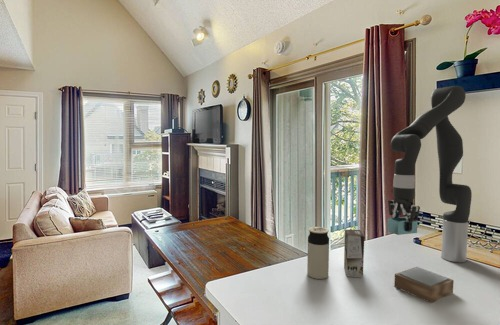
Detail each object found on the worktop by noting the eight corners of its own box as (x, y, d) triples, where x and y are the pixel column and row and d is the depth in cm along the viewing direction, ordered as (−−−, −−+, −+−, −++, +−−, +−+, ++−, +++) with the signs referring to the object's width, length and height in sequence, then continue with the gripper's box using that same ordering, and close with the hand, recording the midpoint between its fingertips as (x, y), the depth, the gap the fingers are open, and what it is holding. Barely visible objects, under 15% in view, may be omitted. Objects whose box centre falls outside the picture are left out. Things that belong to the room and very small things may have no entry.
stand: (416, 278, 116) (416, 265, 115) (452, 292, 104) (453, 278, 104) (394, 286, 109) (394, 272, 109) (431, 302, 98) (431, 287, 98)
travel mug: (332, 274, 118) (333, 229, 117) (321, 281, 113) (322, 233, 111) (314, 269, 124) (315, 225, 123) (303, 275, 118) (304, 229, 117)
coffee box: (363, 278, 116) (364, 236, 115) (346, 276, 117) (347, 235, 116) (360, 268, 125) (361, 229, 124) (343, 267, 126) (344, 228, 125)
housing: (405, 229, 123) (406, 216, 123) (417, 232, 118) (417, 220, 118) (387, 230, 121) (387, 218, 120) (397, 234, 115) (398, 221, 115)
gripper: (427, 188, 112) (425, 233, 113) (397, 183, 126) (396, 223, 127) (410, 189, 110) (408, 235, 111) (382, 184, 124) (381, 225, 125)
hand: (402, 229), depth 119 cm, fingers closed on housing, 5 cm apart
